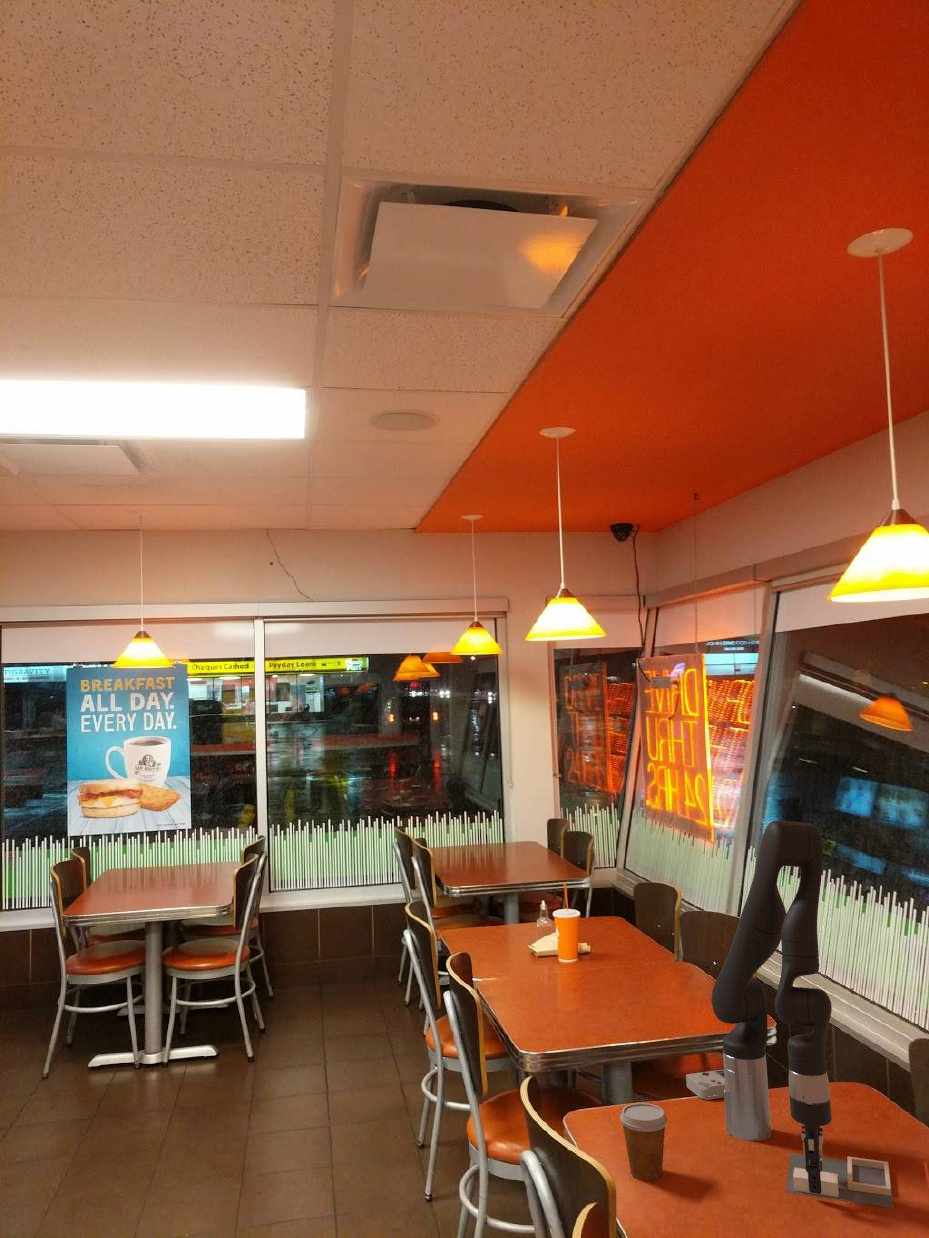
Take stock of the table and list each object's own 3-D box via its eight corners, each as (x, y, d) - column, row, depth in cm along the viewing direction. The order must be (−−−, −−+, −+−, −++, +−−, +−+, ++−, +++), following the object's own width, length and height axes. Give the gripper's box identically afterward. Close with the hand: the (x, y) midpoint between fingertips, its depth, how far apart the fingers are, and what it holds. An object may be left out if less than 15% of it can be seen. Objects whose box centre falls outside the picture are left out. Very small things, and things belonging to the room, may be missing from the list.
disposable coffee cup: (672, 1165, 188) (669, 1104, 190) (667, 1187, 179) (663, 1123, 181) (626, 1160, 191) (623, 1099, 193) (619, 1181, 182) (616, 1118, 184)
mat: (785, 1194, 175) (785, 1185, 175) (790, 1155, 191) (789, 1146, 191) (894, 1211, 168) (893, 1201, 168) (889, 1169, 184) (888, 1160, 184)
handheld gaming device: (686, 1089, 229) (685, 1073, 229) (739, 1081, 232) (738, 1066, 232) (703, 1103, 220) (702, 1086, 220) (757, 1095, 223) (756, 1079, 224)
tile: (794, 1190, 176) (793, 1176, 176) (795, 1180, 179) (794, 1167, 180) (838, 1197, 173) (837, 1183, 173) (838, 1187, 176) (837, 1173, 177)
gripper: (791, 1078, 186) (797, 1162, 184) (787, 1105, 173) (793, 1196, 171) (830, 1082, 183) (837, 1168, 181) (829, 1110, 170) (836, 1202, 168)
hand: (816, 1181), depth 176 cm, fingers open, 8 cm apart
